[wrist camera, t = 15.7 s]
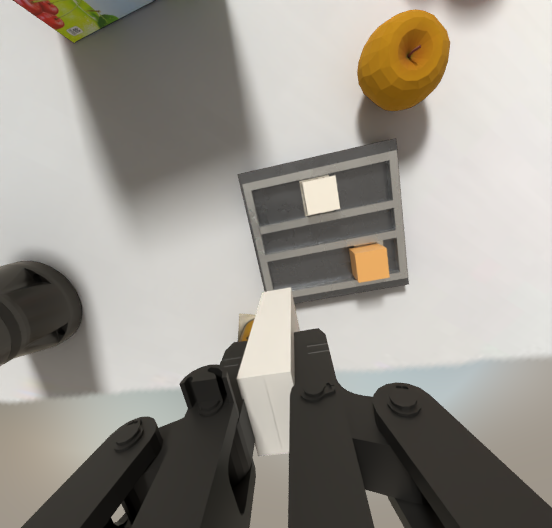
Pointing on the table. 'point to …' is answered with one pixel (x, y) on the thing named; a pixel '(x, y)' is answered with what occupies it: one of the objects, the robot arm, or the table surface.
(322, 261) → the grey slotted tray
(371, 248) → the fader orange
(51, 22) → the snack box
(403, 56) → the apple
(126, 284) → the table surface
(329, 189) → the block
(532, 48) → the table surface
